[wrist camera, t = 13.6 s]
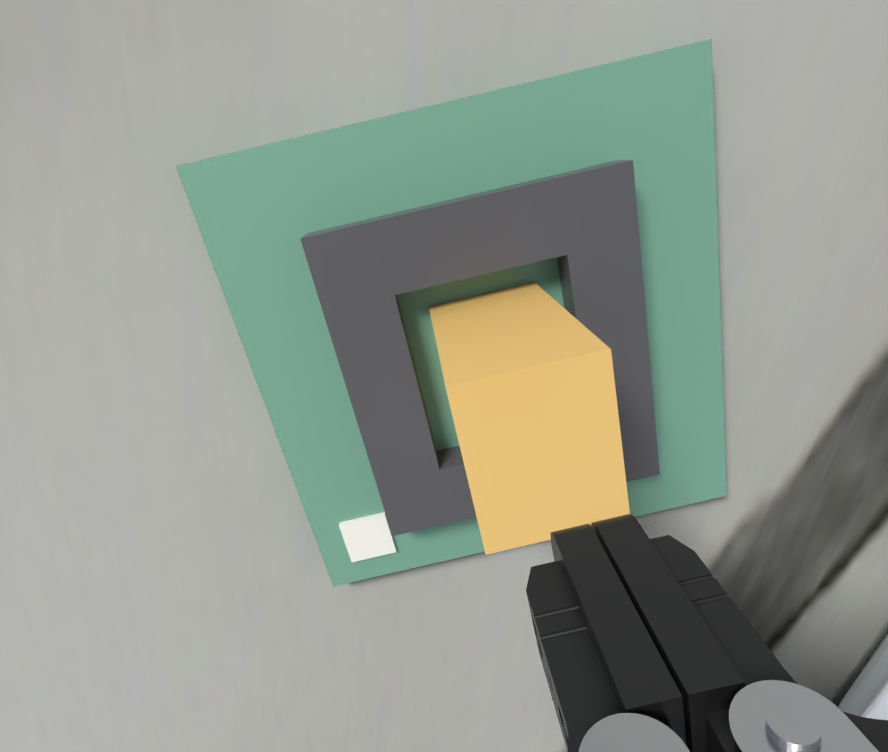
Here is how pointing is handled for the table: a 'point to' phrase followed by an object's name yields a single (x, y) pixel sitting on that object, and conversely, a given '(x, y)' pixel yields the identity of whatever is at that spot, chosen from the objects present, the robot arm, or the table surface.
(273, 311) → the socket board
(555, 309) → the amber plug
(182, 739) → the table surface
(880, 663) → the salad plate
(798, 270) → the table surface
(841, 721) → the robot arm
